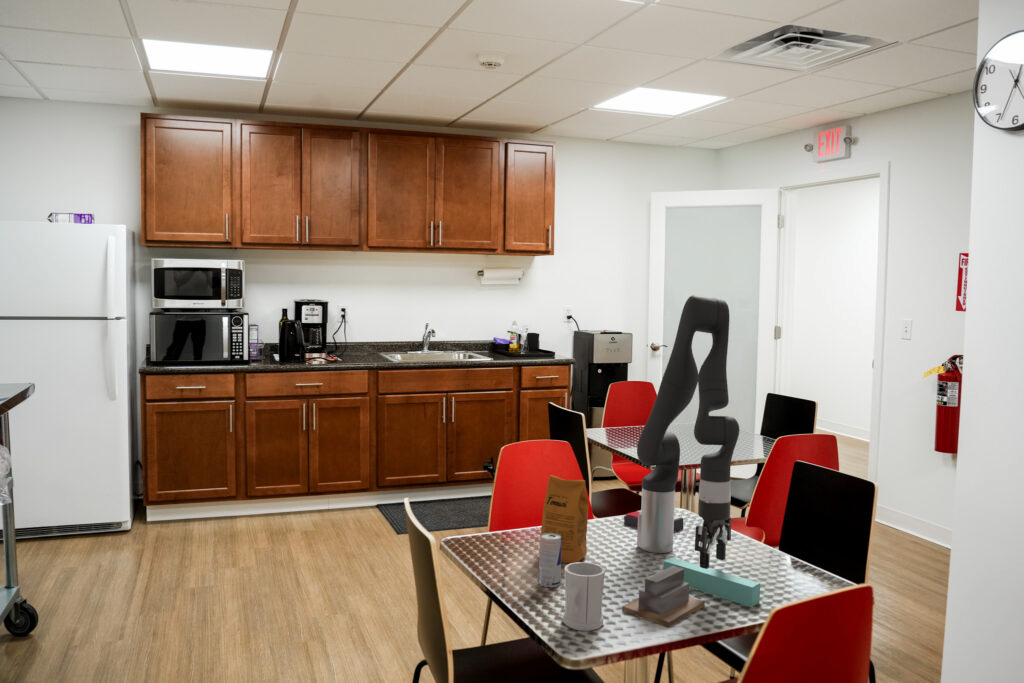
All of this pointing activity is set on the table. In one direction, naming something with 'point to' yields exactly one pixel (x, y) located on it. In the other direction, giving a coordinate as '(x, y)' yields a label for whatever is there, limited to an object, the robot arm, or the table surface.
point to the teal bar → (718, 582)
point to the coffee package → (567, 516)
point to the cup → (583, 596)
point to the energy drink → (550, 560)
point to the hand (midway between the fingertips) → (712, 563)
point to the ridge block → (664, 598)
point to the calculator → (633, 520)
